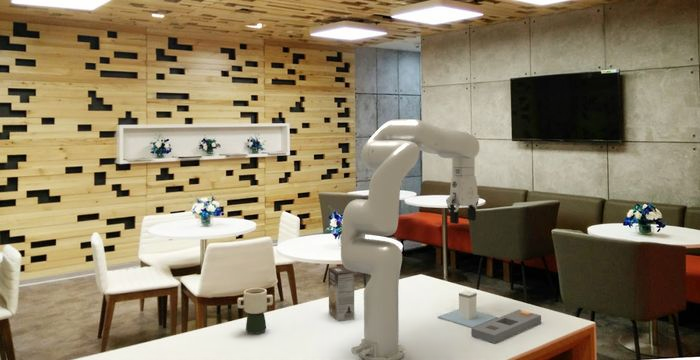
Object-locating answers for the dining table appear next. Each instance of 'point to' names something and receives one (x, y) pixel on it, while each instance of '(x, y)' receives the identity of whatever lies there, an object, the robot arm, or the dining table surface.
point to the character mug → (255, 308)
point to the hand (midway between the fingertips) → (463, 221)
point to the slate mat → (471, 323)
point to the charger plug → (467, 304)
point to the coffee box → (341, 293)
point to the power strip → (505, 326)
